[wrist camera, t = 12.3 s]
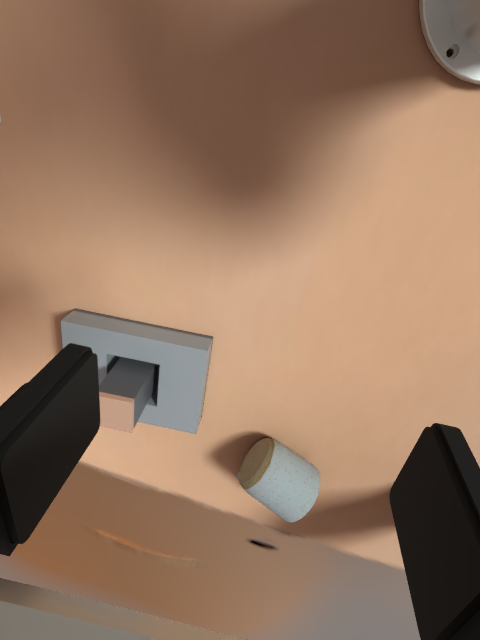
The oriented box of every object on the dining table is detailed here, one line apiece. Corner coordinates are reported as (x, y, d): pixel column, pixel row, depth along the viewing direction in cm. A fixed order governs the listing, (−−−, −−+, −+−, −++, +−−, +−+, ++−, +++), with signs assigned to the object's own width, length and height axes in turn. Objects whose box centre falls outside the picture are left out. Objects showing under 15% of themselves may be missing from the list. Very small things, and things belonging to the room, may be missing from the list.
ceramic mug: (271, 423, 46) (267, 472, 40) (320, 455, 48) (323, 507, 41) (225, 464, 51) (215, 514, 44) (271, 492, 52) (267, 544, 46)
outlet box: (213, 336, 42) (207, 351, 39) (201, 416, 47) (196, 434, 45) (75, 308, 42) (60, 320, 40) (79, 391, 48) (67, 406, 45)
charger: (158, 358, 43) (132, 402, 36) (156, 385, 45) (131, 432, 38) (124, 351, 43) (92, 394, 36) (124, 378, 45) (93, 424, 38)
